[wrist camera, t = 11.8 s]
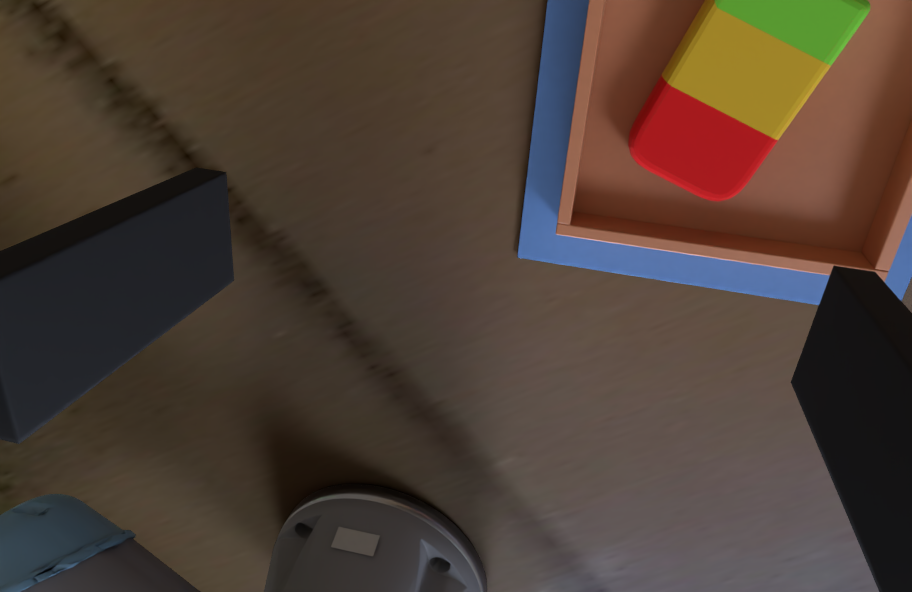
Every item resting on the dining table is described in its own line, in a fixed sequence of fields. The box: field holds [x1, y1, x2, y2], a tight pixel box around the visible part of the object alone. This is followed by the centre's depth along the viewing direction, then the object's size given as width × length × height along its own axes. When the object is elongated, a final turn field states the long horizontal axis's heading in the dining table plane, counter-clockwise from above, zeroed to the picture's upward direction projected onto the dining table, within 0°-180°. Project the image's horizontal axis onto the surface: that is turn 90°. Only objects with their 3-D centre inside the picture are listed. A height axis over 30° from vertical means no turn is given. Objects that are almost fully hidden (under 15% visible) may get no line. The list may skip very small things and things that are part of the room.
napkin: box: [517, 0, 912, 305], centre depth 27 cm, size 25×18×1 cm
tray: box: [556, 0, 912, 282], centre depth 26 cm, size 20×14×2 cm
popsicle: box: [628, 0, 871, 201], centre depth 26 cm, size 6×15×2 cm, turn 155°
